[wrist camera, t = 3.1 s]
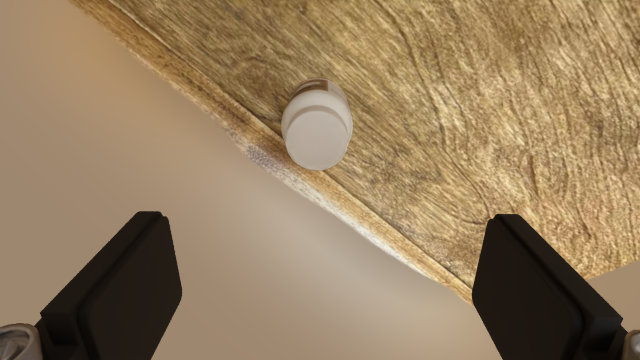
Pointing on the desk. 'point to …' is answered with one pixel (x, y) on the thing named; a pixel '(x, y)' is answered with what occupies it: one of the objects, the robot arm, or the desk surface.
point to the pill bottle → (317, 124)
